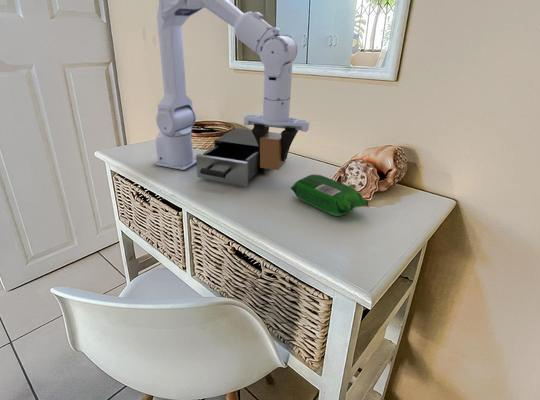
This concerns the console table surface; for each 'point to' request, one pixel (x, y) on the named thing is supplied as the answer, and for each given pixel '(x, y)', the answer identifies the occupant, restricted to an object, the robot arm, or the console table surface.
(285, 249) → the console table surface
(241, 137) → the grey drawer cabinet
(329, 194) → the snack package
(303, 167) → the console table surface
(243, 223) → the console table surface
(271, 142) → the tan upright block
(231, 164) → the drawer
